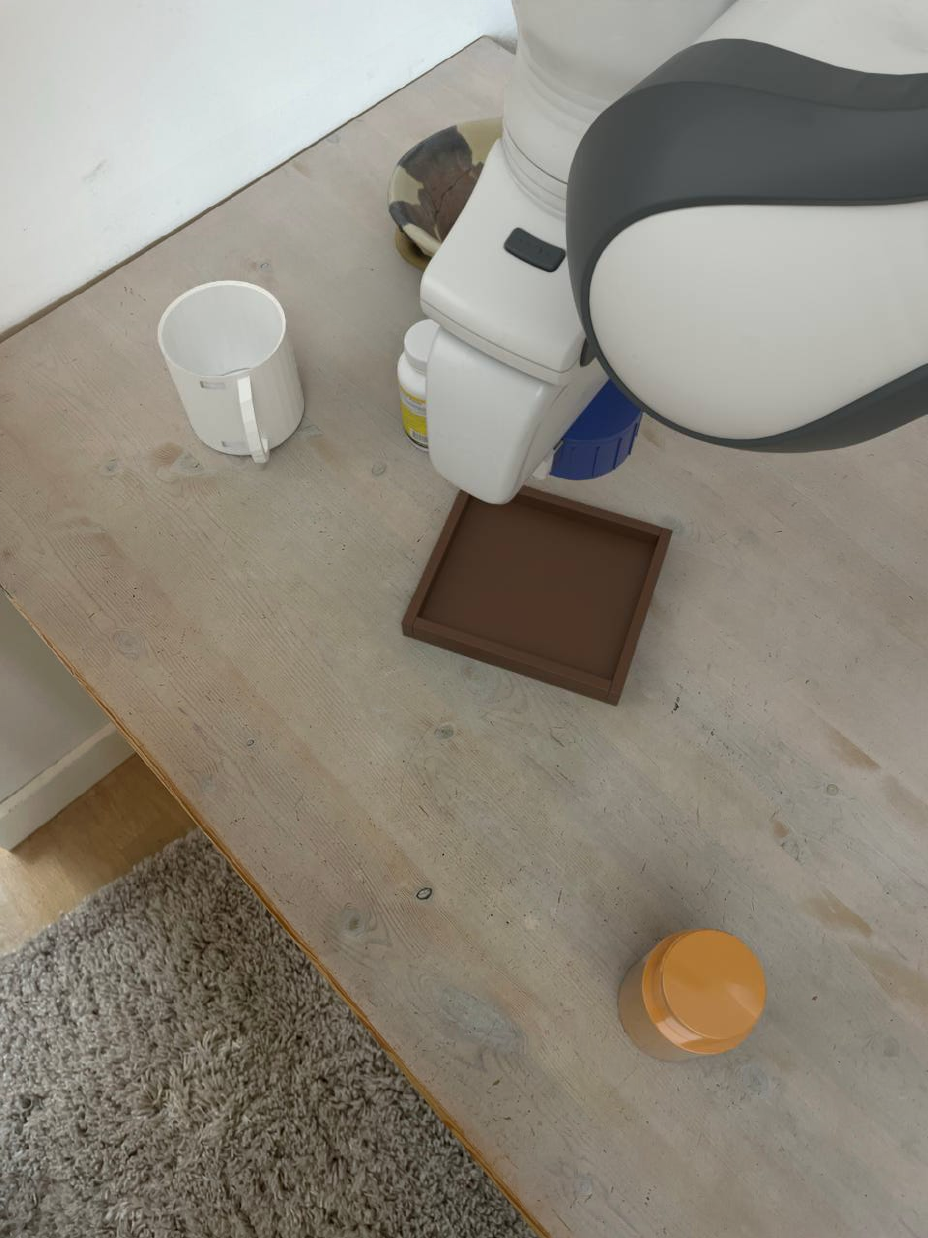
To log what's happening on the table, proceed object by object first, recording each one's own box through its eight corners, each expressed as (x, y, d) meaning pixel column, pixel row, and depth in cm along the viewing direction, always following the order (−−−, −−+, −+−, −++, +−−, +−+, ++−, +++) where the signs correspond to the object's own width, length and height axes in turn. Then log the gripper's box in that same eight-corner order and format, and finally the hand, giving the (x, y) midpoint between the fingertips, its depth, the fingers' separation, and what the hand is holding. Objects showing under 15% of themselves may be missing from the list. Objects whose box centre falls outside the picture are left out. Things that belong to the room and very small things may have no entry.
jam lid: (493, 407, 51) (495, 364, 48) (599, 368, 52) (606, 324, 49) (548, 498, 49) (553, 459, 46) (657, 454, 50) (669, 413, 47)
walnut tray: (668, 544, 72) (673, 529, 70) (616, 706, 66) (620, 695, 64) (469, 484, 74) (469, 468, 73) (402, 635, 69) (401, 622, 67)
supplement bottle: (457, 392, 78) (455, 302, 70) (482, 443, 76) (483, 356, 67) (393, 411, 78) (383, 323, 69) (416, 464, 75) (409, 379, 67)
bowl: (607, 211, 88) (622, 114, 79) (589, 366, 80) (604, 276, 71) (413, 192, 89) (408, 94, 80) (376, 342, 81) (366, 251, 72)
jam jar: (730, 974, 59) (789, 944, 48) (705, 1078, 56) (762, 1071, 45) (633, 938, 60) (670, 901, 49) (605, 1039, 57) (637, 1023, 46)
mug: (190, 372, 79) (158, 286, 71) (302, 361, 80) (283, 274, 72) (190, 495, 74) (155, 417, 66) (310, 482, 75) (290, 404, 66)
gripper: (679, 12, 41) (629, 264, 54) (389, 310, 34) (408, 523, 46) (815, 67, 40) (731, 313, 52) (541, 392, 32) (519, 590, 45)
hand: (577, 414), depth 49 cm, fingers closed on jam lid, 6 cm apart
